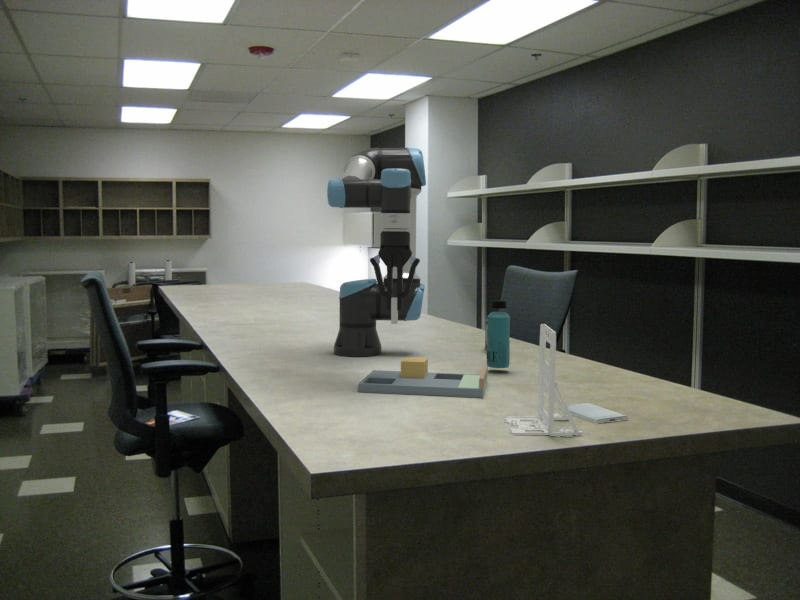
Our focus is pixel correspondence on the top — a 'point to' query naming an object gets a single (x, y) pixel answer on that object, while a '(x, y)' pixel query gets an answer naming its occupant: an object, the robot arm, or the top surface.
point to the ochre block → (414, 367)
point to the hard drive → (594, 413)
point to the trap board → (426, 384)
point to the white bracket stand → (546, 385)
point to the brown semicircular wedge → (486, 333)
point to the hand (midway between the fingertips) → (394, 323)
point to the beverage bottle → (498, 337)
